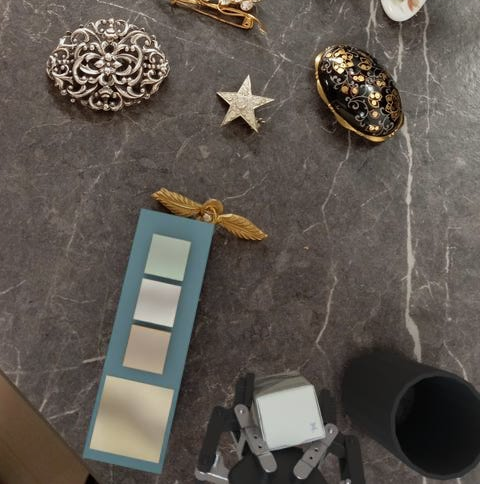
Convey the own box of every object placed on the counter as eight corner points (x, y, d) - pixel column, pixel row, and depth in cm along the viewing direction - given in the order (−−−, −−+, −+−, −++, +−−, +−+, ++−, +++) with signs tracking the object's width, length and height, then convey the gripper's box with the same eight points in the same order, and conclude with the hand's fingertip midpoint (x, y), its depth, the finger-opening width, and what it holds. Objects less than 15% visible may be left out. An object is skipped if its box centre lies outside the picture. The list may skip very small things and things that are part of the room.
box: (296, 368, 86) (317, 381, 74) (307, 416, 85) (330, 437, 73) (242, 381, 86) (254, 396, 73) (252, 429, 84) (266, 453, 72)
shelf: (166, 431, 116) (161, 474, 89) (105, 418, 116) (82, 457, 89) (208, 238, 123) (214, 224, 95) (150, 226, 123) (141, 207, 95)
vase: (384, 450, 117) (450, 503, 88) (324, 397, 118) (369, 432, 89) (431, 386, 120) (511, 417, 91) (372, 334, 121) (431, 349, 92)
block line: (158, 462, 89) (157, 470, 85) (89, 447, 89) (85, 455, 85) (205, 246, 95) (206, 244, 91) (140, 232, 95) (138, 230, 91)
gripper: (385, 564, 63) (376, 375, 78) (185, 522, 63) (214, 340, 78) (357, 621, 67) (354, 430, 82) (168, 581, 67) (199, 397, 81)
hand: (285, 387), depth 80 cm, fingers closed on box, 6 cm apart
